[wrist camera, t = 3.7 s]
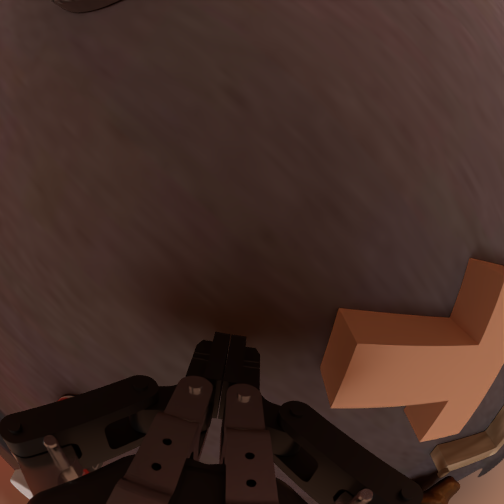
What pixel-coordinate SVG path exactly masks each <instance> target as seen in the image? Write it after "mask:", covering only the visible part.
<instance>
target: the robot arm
mask: <svg viewBox="0 0 504 504" xmlns="http://www.w3.org/2000/svg"><path fill="white" fill-rule="evenodd" d="M51 1H52V2H54V3H55V4H57V5H58V6H60V7H61V8H63V9H65V10H67V11H70V12H79V13H81V12H87V11H93V10H96V9H99V8H102V7H106V6H108V5H110V4H112V3H115V2H117V1H119V0H51ZM229 340H230V334H225V333H219V332H215V336H214V339H213V342H212V341H207V340H202V341H201V342H200V343H199V344H197V346H196V349H195V352H194V354H193V358H192V360H191V363H190V366H189V368H188V371H187V374H186V377H184V378H182V379H181V380H180V381H179V383H178V384H177V385H174V386H158V384H157V383H156V381H155V380H153V379H152V378H150V377H148V376H143V375H136V376H132V377H129V378H126V379H124V380H121V381H118V382H115V383H112V384H110V385H107V386H104V387H101V388H98V389H95V390H92V391H89V392H86V393H83V394H80V395H77V396H73V397H70V398H67V399H64V400H61V401H57V402H54V403H51V404H47V405H44V406H40V407H37V408H33V409H29V410H26V411H22V412H18V413H14V414H10V415H7V416H6V417H4V418H3V419H2V420H1V422H0V434H1V436H2V438H3V439H4V441H5V442H6V444H7V445H8V448H9V450H10V451H11V453H12V454H13V456H14V457H15V458H16V460H17V461H18V464H19V466H20V468H21V471H22V473H23V475H24V478H25V480H26V482H27V484H28V486H29V489H30V491H31V493H32V495H33V497H32V498H31V499H30V501H29V502H28V503H27V504H308V503H307V502H306V501H305V500H303V499H302V498H301V497H300V496H299V495H298V494H297V493H296V492H295V491H294V490H293V489H292V488H291V487H290V486H289V485H287V484H286V483H285V482H283V481H282V480H280V479H278V478H276V477H275V469H274V463H275V464H276V465H277V466H278V467H279V468H280V469H281V470H282V471H283V472H284V473H285V474H286V475H287V476H288V477H289V478H291V479H292V480H293V481H294V482H295V483H296V484H297V485H298V486H299V487H300V488H301V489H303V490H304V491H305V492H306V493H307V494H308V495H309V496H311V497H312V498H313V499H314V500H315V501H316V502H318V503H319V504H420V503H421V502H422V500H423V491H422V489H421V487H420V486H419V485H418V484H417V483H416V482H414V481H413V480H411V479H409V478H408V477H406V476H405V475H403V474H402V473H400V472H399V471H397V470H396V469H394V468H392V467H391V466H390V465H388V464H387V463H385V462H384V461H382V460H381V459H379V458H378V457H376V456H375V455H374V454H372V453H371V452H369V451H368V450H366V449H365V448H364V447H362V446H361V445H359V444H358V443H357V442H355V441H354V440H353V439H351V438H350V437H349V436H347V435H346V434H345V433H343V432H342V431H341V430H339V429H338V428H337V427H335V426H334V425H333V424H331V423H330V422H329V421H328V420H326V419H325V418H324V417H322V416H321V415H320V414H319V413H317V412H316V411H315V410H314V409H312V408H311V407H310V406H309V405H307V404H305V403H303V402H299V401H289V402H286V403H284V404H283V405H282V406H279V405H276V404H273V403H271V402H269V401H267V400H266V399H265V398H264V397H263V396H262V395H261V393H260V389H259V387H260V354H259V353H258V351H257V350H256V348H250V347H245V346H246V337H244V336H238V335H231V341H230V346H229ZM228 347H229V352H228ZM227 354H228V357H227ZM226 361H227V363H226ZM225 368H226V369H225ZM223 379H224V380H223ZM222 385H223V387H222ZM221 391H222V394H221ZM220 396H221V402H220ZM219 402H220V409H219V416H218V419H223V420H222V427H221V433H220V456H219V464H210V465H209V464H204V463H201V462H199V459H200V456H201V453H202V450H203V446H204V443H205V440H206V437H207V434H208V429H209V426H210V424H211V419H212V418H217V413H218V408H219ZM138 446H140V447H139V449H138V451H137V453H136V454H134V455H129V456H126V457H123V458H121V459H119V460H117V461H114V462H112V463H110V464H108V465H106V466H104V467H102V468H99V469H97V470H95V471H93V472H90V473H88V474H86V475H83V476H82V474H83V470H84V469H87V468H89V467H92V466H94V465H97V464H99V463H102V462H104V461H107V460H109V459H112V458H114V457H116V456H119V455H121V454H123V453H125V452H128V451H130V450H132V449H134V448H136V447H138Z"/></svg>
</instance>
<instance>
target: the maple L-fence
mask: <svg viewBox="0 0 504 504" xmlns="http://www.w3.org/2000/svg"><path fill="white" fill-rule="evenodd" d="M503 444H504V406H503V407H502V409H501V410H500V411H499V413H498V414H497V416H496V417H495V419H494V420H493V421H492V423H491V424H490V425H489V427H488V428H487V429H486V431H484V432H481V433H478V434H475V435H472V436H469V437H465V438H462V439H459V440H455V441H451V442H447V443H443V444H439V445H437V446H436V447H435V449H434V450H433V451H432V452H431V453H430V455H431V457H432V459H433V461H434V463H435V466H436V468H437V470H438V473H437V475H438V477H439V478H441V477H444V476H446V475H447V474H448V473H449V471H452V470H455V469H458V468H460V467H463V466H466V465H469V464H471V463H474V462H476V461H479V460H481V459H483V458H486V457H488V456H490V455H493V454H495V453H496V452H497V451H498V450H499V449H500V447H501V446H502V445H503Z"/></svg>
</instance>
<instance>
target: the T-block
mask: <svg viewBox="0 0 504 504" xmlns="http://www.w3.org/2000/svg"><path fill="white" fill-rule="evenodd" d="M503 363H504V266H502V265H498V264H494V263H490V262H486V261H482V260H478V259H473V258H469V262H468V265H467V269H466V272H465V275H464V278H463V282H462V285H461V288H460V291H459V294H458V296H457V299H456V302H455V305H454V307H453V310H452V313H451V315H450V318H446V317H432V316H418V315H406V314H394V313H383V312H373V311H363V310H354V309H344V308H339V309H338V312H337V315H336V319H335V322H334V325H333V329H332V332H331V335H330V338H329V342H328V345H327V348H326V351H325V354H324V357H323V360H322V363H321V366H320V370H321V373H322V377H323V381H324V384H325V388H326V392H327V396H328V400H329V403H330V407H331V408H377V407H394V406H406V405H407V406H406V407H405V409H404V412H405V414H406V416H407V418H408V420H409V422H410V424H411V426H412V428H413V430H414V432H415V434H416V436H417V438H418V440H419V442H423V441H428V440H433V439H438V438H442V437H446V436H450V435H454V434H458V433H459V432H460V431H461V430H462V428H463V427H464V425H465V424H466V423H467V421H468V420H469V419H470V417H471V416H472V414H473V413H474V411H475V410H476V408H477V407H478V406H479V404H480V402H481V401H482V399H483V398H484V396H485V395H486V393H487V391H488V390H489V388H490V387H491V385H492V383H493V381H494V380H495V378H496V376H497V374H498V373H499V371H500V369H501V367H502V365H503Z"/></svg>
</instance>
